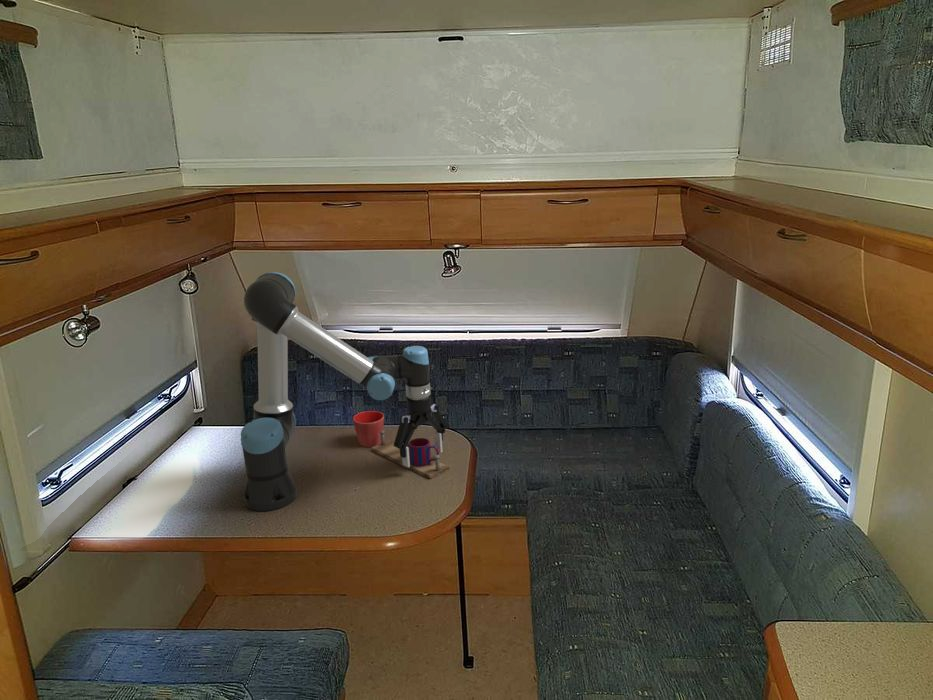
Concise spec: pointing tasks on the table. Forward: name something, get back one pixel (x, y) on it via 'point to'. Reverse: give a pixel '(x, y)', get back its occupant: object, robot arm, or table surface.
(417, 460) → the mug
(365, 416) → the flower pot
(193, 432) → the table surface
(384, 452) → the rail
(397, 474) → the table surface
